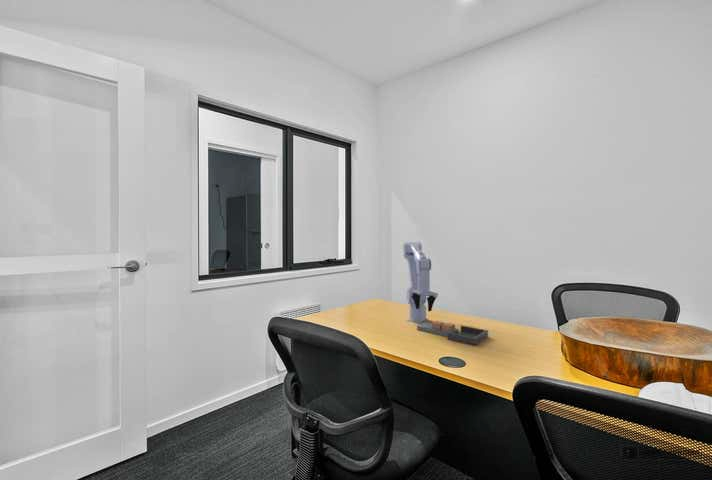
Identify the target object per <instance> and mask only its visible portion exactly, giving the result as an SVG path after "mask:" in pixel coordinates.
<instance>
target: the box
mask: <svg viewBox="0 0 712 480" xmlns="http://www.w3.org/2000/svg"><path fill="white" fill-rule="evenodd" d="M488 337H489V330H488V329H483V328H477V327H472V326H467V325H460V330H459V332H458V333H456V334H454V333H450V332H449V333H448V337H447V340H449V341H452V342H457V343H460V344H461V343H462V344H466V345H471V346H477V345H478V344H480V343H481V342H482V341H484V340H486V339H487V338H488Z"/></svg>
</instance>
